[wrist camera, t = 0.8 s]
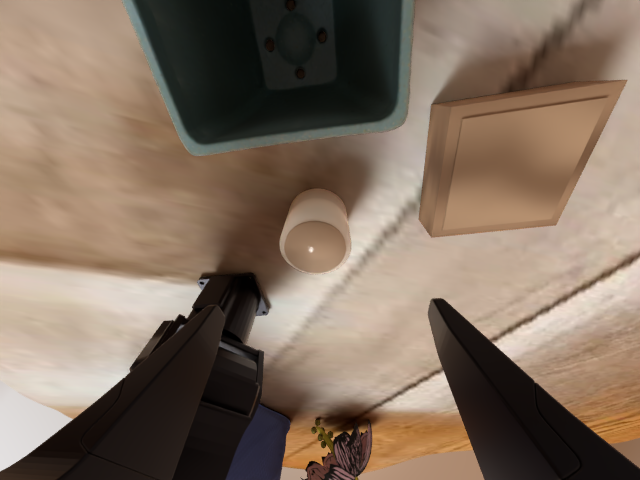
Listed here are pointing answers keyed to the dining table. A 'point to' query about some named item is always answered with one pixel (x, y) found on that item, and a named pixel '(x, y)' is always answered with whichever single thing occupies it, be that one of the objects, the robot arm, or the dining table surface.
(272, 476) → the lunch bag
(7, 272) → the dining table surface
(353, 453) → the decorative flower
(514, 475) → the robot arm
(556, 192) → the stand
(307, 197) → the jar
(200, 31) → the flower pot
